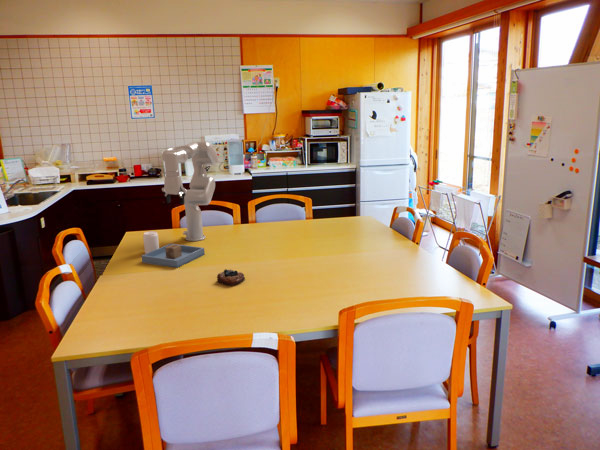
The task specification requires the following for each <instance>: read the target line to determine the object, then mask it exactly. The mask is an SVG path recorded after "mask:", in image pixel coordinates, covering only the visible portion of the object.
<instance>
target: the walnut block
mask: <svg viewBox="0 0 600 450" xmlns="http://www.w3.org/2000/svg"><path fill="white" fill-rule="evenodd" d="M171 244H172V245H170V246H167V247H165V251H166V258H171V259H176V258H178V257H180V256H182V252H181V246H180V245H181V244H178V245H173V244H174V243H171Z"/></svg>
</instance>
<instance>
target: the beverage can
mask: <svg viewBox="0 0 600 450" xmlns="http://www.w3.org/2000/svg"><path fill="white" fill-rule="evenodd" d="M142 238H143V247H144V253H145V254H147V253H149V252H151V251H154V250H156V249H159V248H160V243H159V242H160V241H159V234H158V232H157V231H155V230H154V231H153V230H151V231H145V232H144V233H143V235H142Z"/></svg>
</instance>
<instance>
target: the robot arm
mask: <svg viewBox="0 0 600 450" xmlns="http://www.w3.org/2000/svg"><path fill="white" fill-rule="evenodd" d="M161 157H162V161H163V162H164V169H165V171H164V174H165V176H164V180H163V181H164V185H163V186H164V187H162V188H161V191H162V194H163V196H164V197H165V198H166V199H165V200H166V204H170V203H171V202H172V200H171V199H172V198H171V195H175V196H177V195H178V197H179V202H180V203H179V204H180V205H183V206H184V210H185V221H186V222H185V223H186V230H184V231H183V232H182V235H183V236H185V238H184V239H185V241H187V242H198V241H203V240H204V239H206V235H205V234H204V231H203V219H202V211H201V208H200V207H199V206H208V205H210V204H211V201H212V198H213V195H214V192H215V189H216V180H215V178H214V177H212V176H208V172H207V170H206V169H205V167H204V166H214V165H216V164H218V162H219V156H218V153H217V151H216V150H215V148H214V147H213V146H212V144H211V143H210V142H208V141H193V142H190V143H187V144H183V145H181V146H180V145H179V146H175V147H169V148H168V149H165V150H164V151H163V153H162V155H161ZM189 159H190V160H191V162H192V166H193V167H192V168H193V174H192V177H191V179H190V181H189V188H190V189H189V188H188V189H186V188H185V187H184V185H183V180H182V177H181V175H180V166H179V165H180V164H184V163H186V162H187V161H188V160H189Z"/></svg>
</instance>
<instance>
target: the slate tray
mask: <svg viewBox="0 0 600 450" xmlns="http://www.w3.org/2000/svg"><path fill="white" fill-rule="evenodd" d="M172 244H173V245H180V246H181V252H182V256H180V257H178V258H176V259H171V258H166V251H165V247H167V246H170V245H172ZM205 255H206V253H205V247H200V246H192V245H185V244H176V243H168V244H166V245H163V246H162V247H159V249H156V250H154V251H151V252H149V253H147V254H146V253H145V254H142V255H141V257H140V258H141V263H142V264H143V263H144V264H149V265H155V266H156V265H157V266H163V267H167V266H168V268H174V267H175V269H178V267H179V268H181V267H183V266H184V264H185V265H187V264H189V263H191V262H193V261H195V260H197V259H199V258H201V257H203V256H205ZM182 265H183V266H182ZM180 266H181V267H180Z"/></svg>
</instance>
